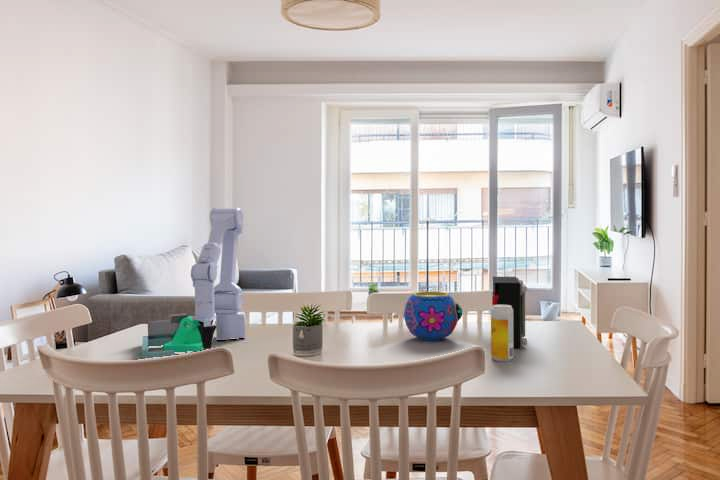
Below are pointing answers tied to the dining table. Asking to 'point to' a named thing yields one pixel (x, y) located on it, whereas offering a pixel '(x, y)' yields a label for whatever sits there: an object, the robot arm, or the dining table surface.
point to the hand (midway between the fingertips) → (205, 345)
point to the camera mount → (186, 337)
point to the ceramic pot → (431, 315)
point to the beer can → (502, 332)
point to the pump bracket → (155, 342)
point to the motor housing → (165, 327)
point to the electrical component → (512, 304)
